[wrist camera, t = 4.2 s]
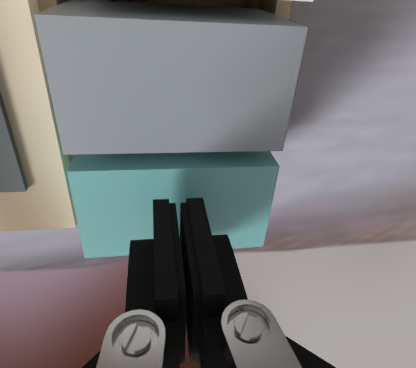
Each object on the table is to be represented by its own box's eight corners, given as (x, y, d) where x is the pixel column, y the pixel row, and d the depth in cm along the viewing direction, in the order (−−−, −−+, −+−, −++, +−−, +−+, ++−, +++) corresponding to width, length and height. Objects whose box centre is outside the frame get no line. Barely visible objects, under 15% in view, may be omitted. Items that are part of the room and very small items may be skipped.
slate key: (257, 8, 13) (308, 26, 9) (246, 100, 15) (282, 150, 11) (74, -2, 12) (34, 14, 8) (88, 100, 14) (63, 154, 10)
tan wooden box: (306, -143, 14) (402, -210, 9) (258, 160, 22) (292, 220, 17) (-128, -200, 11) (-364, -344, 6) (-3, 165, 19) (-60, 238, 14)
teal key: (244, 113, 15) (279, 166, 11) (236, 180, 17) (263, 246, 13) (90, 113, 14) (67, 171, 10) (100, 185, 16) (84, 257, 12)
